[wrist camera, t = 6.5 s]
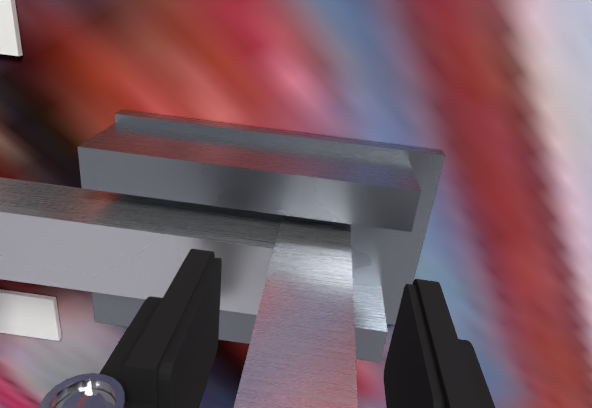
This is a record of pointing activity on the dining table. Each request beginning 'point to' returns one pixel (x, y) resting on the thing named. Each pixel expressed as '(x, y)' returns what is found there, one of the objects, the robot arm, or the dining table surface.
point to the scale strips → (10, 304)
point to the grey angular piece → (234, 276)
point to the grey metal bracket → (278, 199)
